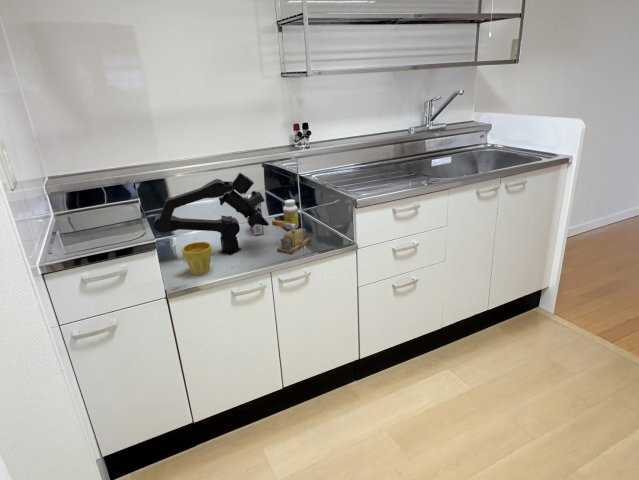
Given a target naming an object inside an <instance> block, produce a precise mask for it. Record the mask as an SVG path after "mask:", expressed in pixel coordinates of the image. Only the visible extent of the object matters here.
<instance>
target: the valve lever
mask: <svg viewBox="0 0 639 480" xmlns="http://www.w3.org/2000/svg"><path fill="white" fill-rule="evenodd" d="M271 223H272V226H273V227H280V228H283V227H284V228H285V226H288V227H290V228H295V229H297V228H296V223H285V221H284V220H280V219H279V220H278V219H273V220H272V221H271Z"/></svg>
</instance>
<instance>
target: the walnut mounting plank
mask: <svg viewBox="0 0 639 480" xmlns="http://www.w3.org/2000/svg"><path fill="white" fill-rule="evenodd" d="M311 239H312V238H311V237H307V238H306V239H305V240H303V241H302V242H301V243H299V244H298V245H296V246H293V248H291V249H290V250H288V249H283V248H281V245H280V246H278V247H277V248H276V252H277V253H281V252H282V254H286V253H287V254H288V255H294V254H295V253H296V252H298V251H300V249H302V248H303V247H305V246H306V245H308V244H309V243H311V241H312V240H311Z"/></svg>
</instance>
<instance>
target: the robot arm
mask: <svg viewBox="0 0 639 480" xmlns="http://www.w3.org/2000/svg"><path fill="white" fill-rule="evenodd" d="M254 184H255V182H254V181H253V180H252V179H251V178H250V177H249V176H247V175H245V174H244V173H242V172H238V174H237V176H236V177H235V179H233V181H223V180H221V179H218V178H216V179H213V180H211V181H209V182H208V183H206V184H204V185H203V186H202V187H199V188H195V189H193V190H190V191H188V192H184V193H181V194H178V195H176V196H172V197H168V198H166V201H165V204H164V206H163V208H162V210H161V211H160V213H159V214H157V215H156V216H155V219H154V220H153V221H154V222H153V228H154V229H155V231H157V232H158V233H160V234H161V233H170V232H174V231H175V232H176V231H180V230H181V231H185V230H186V231H201V232H203V231H205V232H216V233H220V237H219V239H220V246H221V250H220V251H219V253H221V254H225V255H230V256H232V255H233V254H235V253H237V252H239V251H241V250H242V248H241V247H240V245H239V240H238V237H237V235H238V234H239V233H240V230H241V226H240V223H239V221H238V220H237V218H235V217H233V216H232V215H228V216H226V215H221V216H220V217H221V218H220V219H199V218H181V217H178V216H175V215H173V213H174V212H175V209H177V208H180V207H183V206H187V205H189V204H192V203H195V202H198V201H201V200H204V199H214V198H218V201H219V205H220V206H223V205H224V203H225V204H227V205H228V206H229V207H231V208H233V210H235V212H237V213H239V214H241V215H243V217H244V219H246V220H247V225H248V226H249V227H250V226H251V227H253V226H254V225H255V224H259V225H263V227H264V226H265V227H268V226H270V223H269V222H268V221H267V219H266V218H265V217H264V216H263V214H261V211H262V210H261V211H260V209H259V208H257V210H256V209H255V208H256V207H255V206H257V205H258V204H260V203H261V204H262V203H265V201H266V200H265V198H264V196H263V194H262V193H261V192H260V191H256V190H252V191H251V194H250V195H251V196H250V198H248V199H247V196H246V197H245V196H244V197H243V196H242V195H246V193H247V192H249V190H250V189H251V188H252V186H253V185H254Z"/></svg>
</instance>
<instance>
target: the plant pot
mask: <svg viewBox="0 0 639 480" xmlns="http://www.w3.org/2000/svg"><path fill="white" fill-rule="evenodd" d="M212 250H213V249H212V244H211V243H210V242H207V241H195V242H190V243H188V244H187V243H186V244H185V245H184V246H183V247H182V248H181V252H182V257H183V259H184V260H185V261H186V263H187V265H188V267H189V271H190V272H191V274H192V275H196V276H197V275H204V274H207V273H208V272H209V271H210V268H211V267H210V266H211V265H210V264H211V256H212V255H213V251H212Z"/></svg>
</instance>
